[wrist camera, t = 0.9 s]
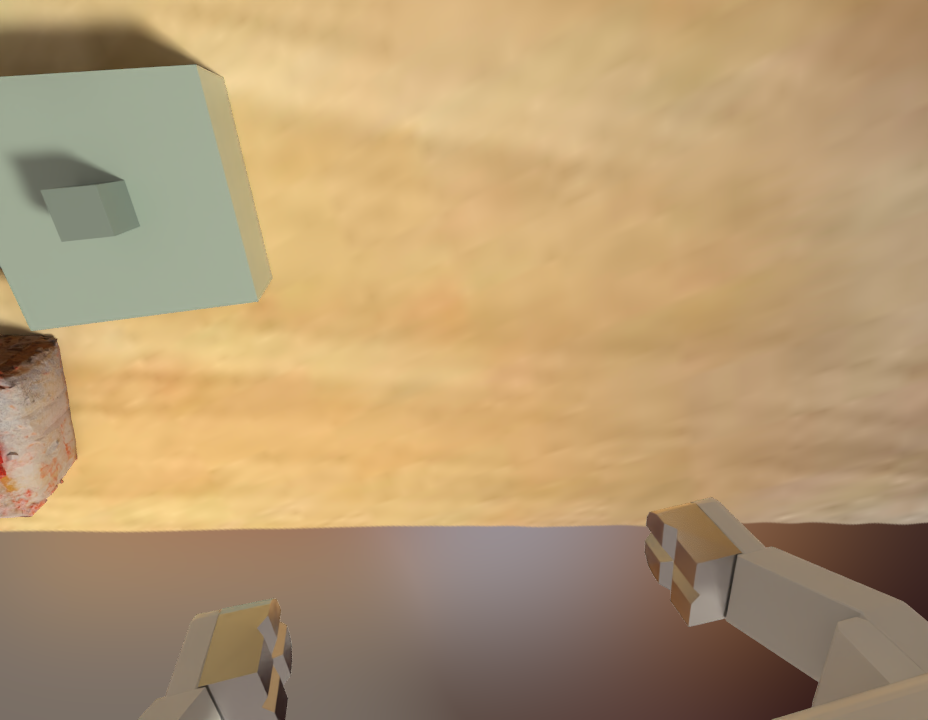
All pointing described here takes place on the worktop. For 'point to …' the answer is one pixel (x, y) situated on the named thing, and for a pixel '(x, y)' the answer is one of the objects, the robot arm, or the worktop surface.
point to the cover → (124, 196)
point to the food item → (32, 423)
